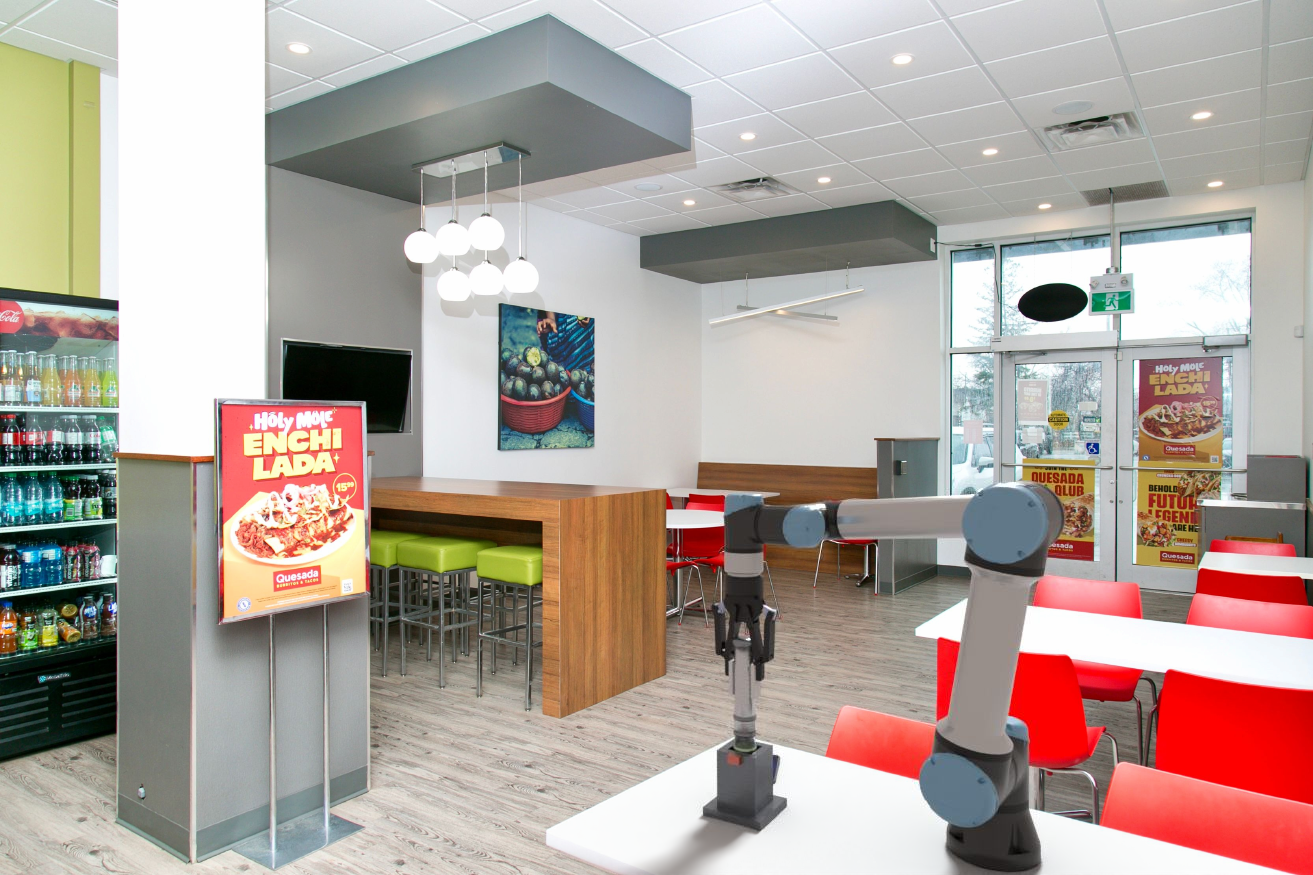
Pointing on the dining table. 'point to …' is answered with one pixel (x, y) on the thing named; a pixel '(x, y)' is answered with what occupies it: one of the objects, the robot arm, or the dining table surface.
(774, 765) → the smartphone
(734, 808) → the stand base
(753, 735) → the column
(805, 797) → the dining table surface
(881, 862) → the dining table surface
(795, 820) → the dining table surface
